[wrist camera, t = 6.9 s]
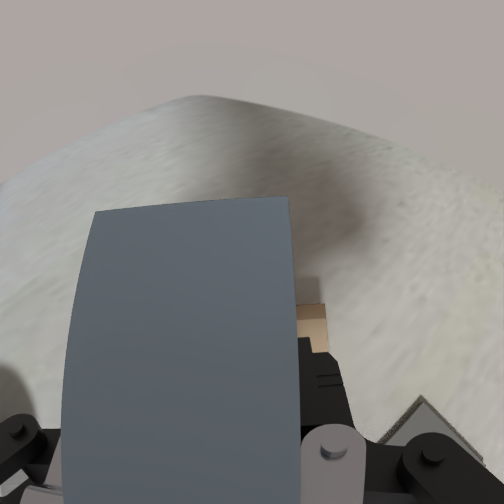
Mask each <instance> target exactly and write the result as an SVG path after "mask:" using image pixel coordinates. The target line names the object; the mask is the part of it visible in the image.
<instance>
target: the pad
mask: <svg viewBox="0 0 504 504" xmlns="http://www.w3.org/2000/svg"><path fill="white" fill-rule="evenodd" d="M427 432H437V433H442V434H445V435H447V436H449V437H451V438H452V439H453V440H455V441H456V442H457V443H458V444H459V445H460V446H461V447H462V448H464V449H465V450H466V451H467V452H468V453H469V454H470V455H471V456H473V457H474V458H475V459H476V460H477V461H478V462H479V463H480V464H482V465H483V466H484V467H486V465H485V464H484V463H483V462H482V461H481V460H480V459H479V458H478V457H477V456H476V455H475V454H474V453H473V452H472V451H471V450H470V449H469V448H468V447H467V446H466V445H465V444H464V443H463V441H462V440H461V439H460V438H459V437H458V436H457V435H456V434H455V433H454V432H453V431H452V430H451V429H450V428H449V427H448V426H447V425H446V424H445V423H444V422H443V421H442V420H441V419H440V418H439V417H438V416H437V415H436V414H435V413H434V412H433V411H432V410H431V409H430V408H429V407H428V406H427V405H426V404H425V403H424V402H421V403H420V404H419V405H418V406H417V407H416V409H415V410H414V411H413V412H412V413H411V414H410V416H409V417H408V418H407V419H406V420H405V421H404V422H403V423H402V424H401V426H400V427H399V428H398V429H397V430H396V431H395V432H394V433H393V434H392V435H391V436H390V437H389V438H388V439H387V440H386V441H385V442H384V443H383V445H394V446H406V444H407V443H408V442H409V441H410V440H411V439H412V438H414V437H415V436H417V435H420V434H422V433H427Z"/></svg>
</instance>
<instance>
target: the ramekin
mask: <svg viewBox="0 0 504 504" xmlns="http://www.w3.org/2000/svg"><path fill="white" fill-rule="evenodd" d="M28 478H29V477H28V476H27V475H26V474H25V473H24V472H23V470H22V469H20V470H19V471H18V472H17V473H15V474H14V475H13V476H11V477H10V478H9V479H8V480H6V481H5V482H4V483H2V484H1V485H0V497H4V496H6V495H8V494H9V493H10V492H11V491H13V490H14V489H15V488H16V487H18V486H19V485H20V484H22V483H23V482H24V481H25V480H27V479H28Z"/></svg>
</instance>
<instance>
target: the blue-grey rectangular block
mask: <svg viewBox="0 0 504 504" xmlns="http://www.w3.org/2000/svg"><path fill="white" fill-rule="evenodd" d="M61 474H62V490H63V502H64V504H301V434H300V390H299V361H298V337H297V317H296V299H295V282H294V267H293V253H292V239H291V226H290V214H289V202H288V196H274V197H255V198H239V199H224V200H210V201H197V202H185V203H173V204H162V205H152V206H142V207H133V208H123V209H114V210H106V211H98V212H95V215H94V218H93V222H92V225H91V229H90V233H89V236H88V240H87V244H86V248H85V252H84V256H83V261H82V265H81V269H80V274H79V278H78V283H77V288H76V293H75V299H74V304H73V310H72V316H71V322H70V328H69V335H68V342H67V350H66V359H65V368H64V379H63V392H62V409H61Z"/></svg>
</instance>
